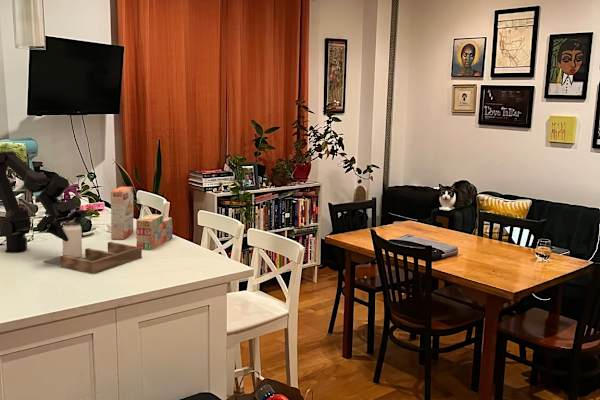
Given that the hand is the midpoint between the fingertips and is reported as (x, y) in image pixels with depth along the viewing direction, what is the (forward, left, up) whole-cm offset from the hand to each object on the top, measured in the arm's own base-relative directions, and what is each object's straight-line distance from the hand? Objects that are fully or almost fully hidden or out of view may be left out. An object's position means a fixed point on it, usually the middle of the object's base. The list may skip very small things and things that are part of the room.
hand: (74, 238), depth 211 cm
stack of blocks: (+27, +26, -9) cm, 39 cm away
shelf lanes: (+9, 0, -9) cm, 13 cm away
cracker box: (+13, +41, -9) cm, 44 cm away
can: (-1, +1, -7) cm, 7 cm away
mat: (-4, +3, -9) cm, 10 cm away
